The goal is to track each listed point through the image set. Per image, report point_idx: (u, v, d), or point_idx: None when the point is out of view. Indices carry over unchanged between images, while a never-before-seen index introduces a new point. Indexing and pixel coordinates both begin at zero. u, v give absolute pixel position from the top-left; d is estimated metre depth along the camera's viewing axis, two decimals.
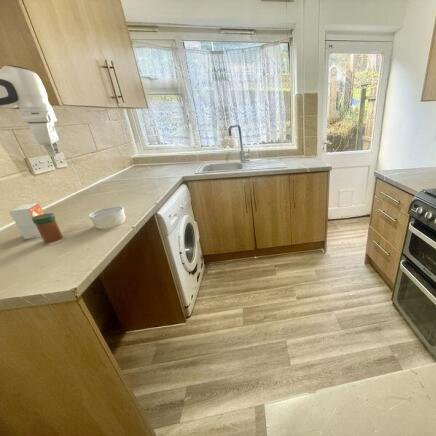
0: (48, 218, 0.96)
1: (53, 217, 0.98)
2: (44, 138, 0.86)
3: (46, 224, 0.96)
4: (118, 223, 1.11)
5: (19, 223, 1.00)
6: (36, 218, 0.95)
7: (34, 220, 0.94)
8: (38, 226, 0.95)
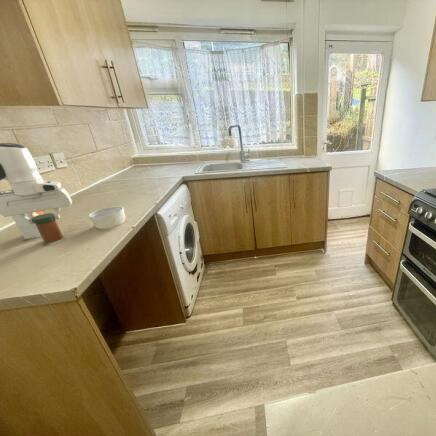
0: (48, 218, 0.96)
1: (53, 217, 0.98)
2: (70, 199, 1.00)
3: (46, 224, 0.96)
4: (118, 223, 1.11)
5: (19, 223, 1.00)
6: (36, 218, 0.95)
7: (34, 220, 0.94)
8: (38, 226, 0.95)
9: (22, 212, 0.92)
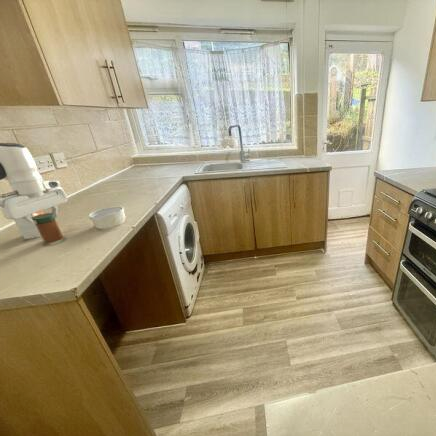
0: (53, 215, 0.98)
1: None
2: None
3: (46, 224, 0.96)
4: (118, 223, 1.11)
5: (19, 223, 1.00)
6: (41, 217, 0.95)
7: (42, 219, 0.94)
8: (38, 226, 0.95)
9: (30, 212, 0.91)
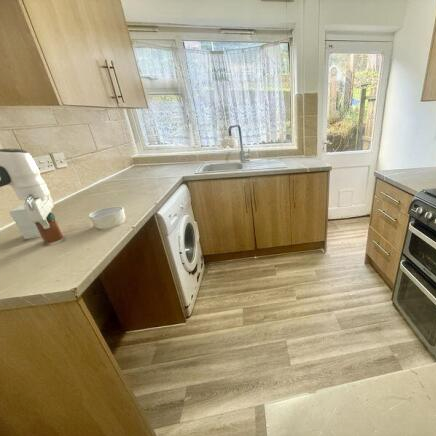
0: None
1: None
2: None
3: None
4: (118, 223, 1.11)
5: (19, 223, 1.00)
6: None
7: (49, 217, 0.96)
8: (38, 226, 0.95)
9: (47, 214, 0.94)
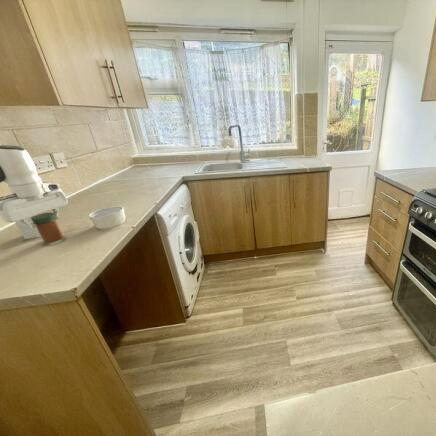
0: None
1: None
2: None
3: (46, 224, 0.96)
4: (118, 223, 1.11)
5: (19, 223, 1.00)
6: (45, 216, 0.96)
7: (48, 217, 0.96)
8: (38, 226, 0.95)
9: (28, 215, 0.91)
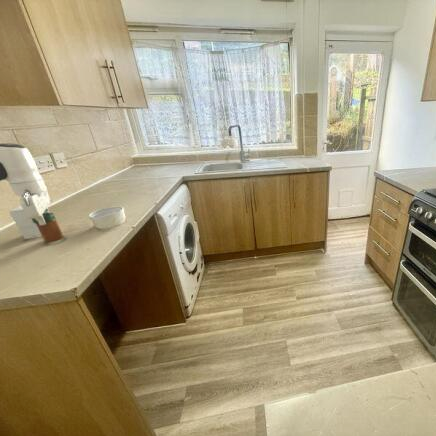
0: None
1: None
2: None
3: (47, 224, 0.96)
4: (118, 223, 1.11)
5: (19, 223, 1.00)
6: (49, 213, 0.98)
7: None
8: (39, 226, 0.95)
9: (43, 210, 0.93)
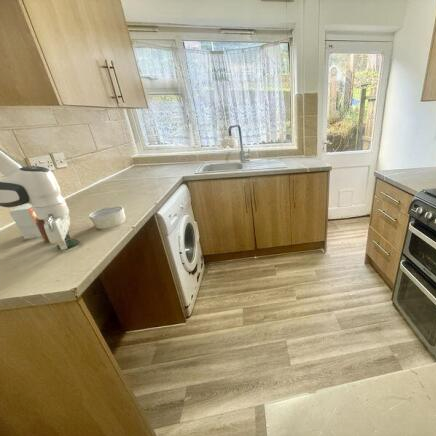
0: None
1: None
2: None
3: None
4: (118, 223, 1.11)
5: (19, 223, 1.00)
6: (74, 240, 0.97)
7: None
8: (39, 226, 0.96)
9: (65, 234, 0.91)
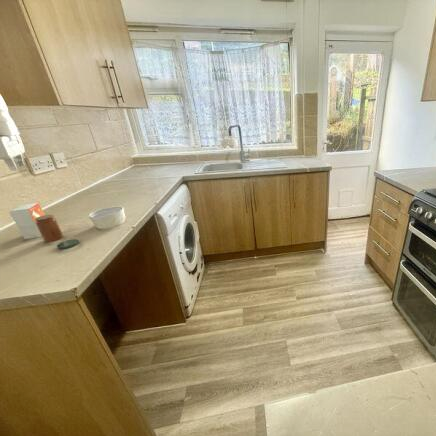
0: None
1: None
2: None
3: (47, 224, 0.96)
4: (118, 223, 1.11)
5: (19, 223, 1.00)
6: (74, 240, 0.97)
7: None
8: (39, 226, 0.96)
9: (14, 154, 0.91)
